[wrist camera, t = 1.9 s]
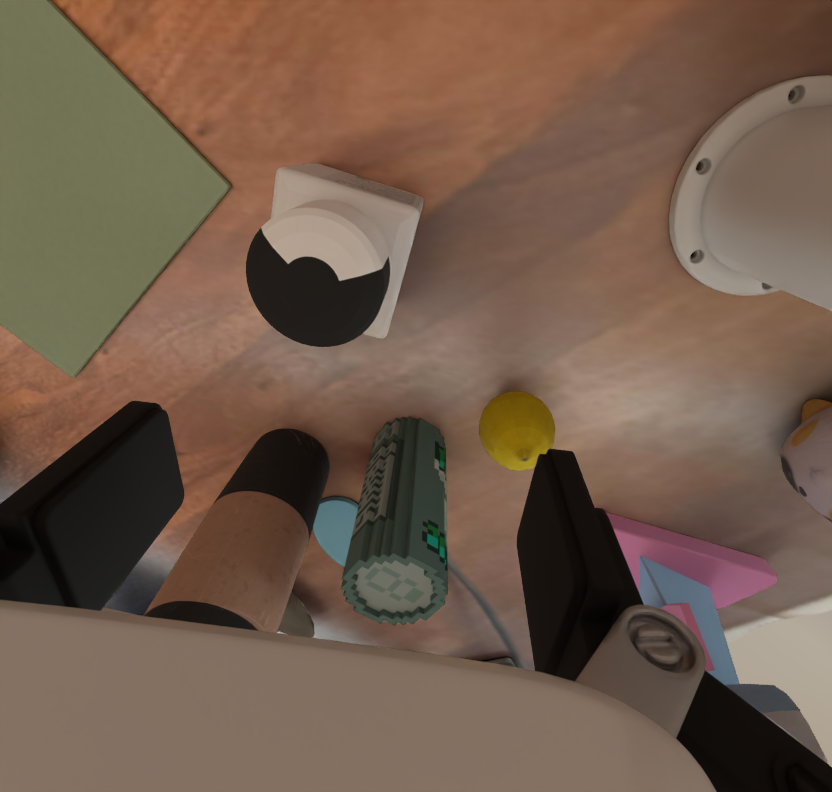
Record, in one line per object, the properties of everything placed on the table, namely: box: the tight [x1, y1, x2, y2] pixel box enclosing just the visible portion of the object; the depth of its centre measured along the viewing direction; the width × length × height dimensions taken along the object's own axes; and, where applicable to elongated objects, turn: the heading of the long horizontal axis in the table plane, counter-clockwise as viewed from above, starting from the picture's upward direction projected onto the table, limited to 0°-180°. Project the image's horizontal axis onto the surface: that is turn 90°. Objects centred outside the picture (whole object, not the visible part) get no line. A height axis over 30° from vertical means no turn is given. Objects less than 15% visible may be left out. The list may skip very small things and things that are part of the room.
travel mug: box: [144, 429, 329, 633], centre depth 33 cm, size 8×8×20 cm
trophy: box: [606, 512, 827, 763], centre depth 33 cm, size 20×17×30 cm
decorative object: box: [313, 497, 359, 567], centre depth 46 cm, size 12×1×10 cm
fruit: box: [479, 391, 555, 470], centre depth 34 cm, size 6×6×8 cm
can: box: [341, 416, 448, 625], centre depth 34 cm, size 6×6×15 cm
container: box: [246, 163, 424, 347], centre depth 26 cm, size 8×8×13 cm
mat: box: [0, 0, 231, 378], centre depth 32 cm, size 22×18×1 cm
